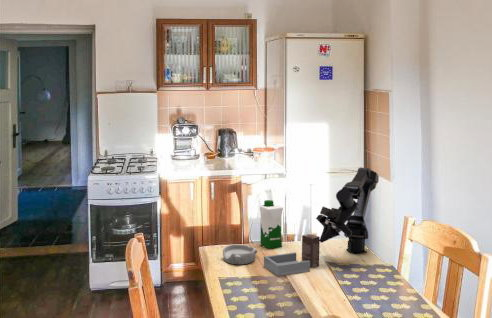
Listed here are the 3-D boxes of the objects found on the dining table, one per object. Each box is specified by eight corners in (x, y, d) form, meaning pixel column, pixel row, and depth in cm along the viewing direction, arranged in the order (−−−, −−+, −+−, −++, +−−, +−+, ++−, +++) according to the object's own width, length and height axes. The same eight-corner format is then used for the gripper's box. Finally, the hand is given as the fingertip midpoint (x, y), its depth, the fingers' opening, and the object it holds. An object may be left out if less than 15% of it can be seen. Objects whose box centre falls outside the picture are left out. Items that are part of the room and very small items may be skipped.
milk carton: (274, 242, 257) (274, 199, 254) (285, 247, 249) (285, 202, 246) (257, 244, 253) (257, 201, 250) (267, 250, 245) (267, 205, 242)
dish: (240, 268, 222) (240, 255, 221) (215, 261, 231) (215, 249, 230) (264, 259, 233) (263, 247, 232) (238, 252, 242) (238, 241, 241)
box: (319, 265, 223) (320, 236, 222) (311, 268, 221) (312, 238, 219) (308, 262, 228) (309, 233, 226) (300, 264, 225) (301, 235, 224)
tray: (294, 261, 229) (294, 252, 228) (310, 271, 217) (310, 261, 217) (263, 266, 223) (263, 256, 223) (277, 276, 212) (277, 266, 211)
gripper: (320, 195, 233) (296, 224, 230) (345, 204, 216) (320, 235, 213) (336, 212, 237) (313, 240, 234) (362, 222, 220) (337, 252, 217)
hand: (320, 241), depth 225 cm, fingers closed
